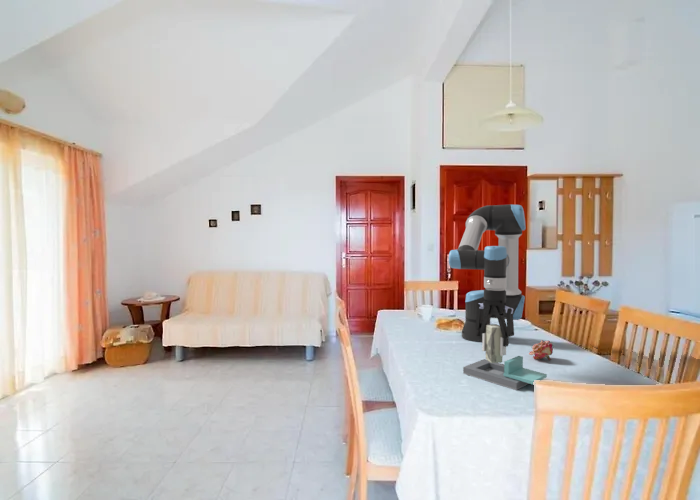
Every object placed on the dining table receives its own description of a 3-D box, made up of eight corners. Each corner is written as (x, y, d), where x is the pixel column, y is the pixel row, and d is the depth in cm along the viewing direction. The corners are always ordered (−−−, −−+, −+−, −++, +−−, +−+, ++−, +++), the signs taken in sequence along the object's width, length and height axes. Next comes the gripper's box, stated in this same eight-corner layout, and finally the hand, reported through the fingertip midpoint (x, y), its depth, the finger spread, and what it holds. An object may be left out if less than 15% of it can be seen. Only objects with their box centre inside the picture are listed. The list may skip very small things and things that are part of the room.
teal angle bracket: (503, 375, 133) (503, 361, 132) (517, 369, 139) (518, 355, 139) (532, 384, 125) (533, 369, 125) (546, 377, 131) (546, 362, 131)
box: (485, 359, 143) (484, 324, 143) (496, 358, 143) (496, 323, 143) (491, 363, 138) (491, 327, 137) (503, 363, 138) (503, 326, 138)
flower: (557, 353, 160) (545, 336, 163) (562, 355, 152) (548, 337, 154) (536, 365, 162) (524, 348, 164) (539, 368, 153) (527, 350, 156)
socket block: (463, 373, 143) (463, 367, 142) (484, 365, 152) (484, 359, 151) (516, 390, 127) (516, 382, 127) (535, 379, 136) (536, 373, 136)
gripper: (465, 287, 145) (464, 348, 145) (515, 293, 130) (514, 361, 131) (476, 285, 149) (476, 345, 150) (526, 291, 135) (525, 356, 136)
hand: (493, 352), depth 141 cm, fingers closed on box, 6 cm apart
